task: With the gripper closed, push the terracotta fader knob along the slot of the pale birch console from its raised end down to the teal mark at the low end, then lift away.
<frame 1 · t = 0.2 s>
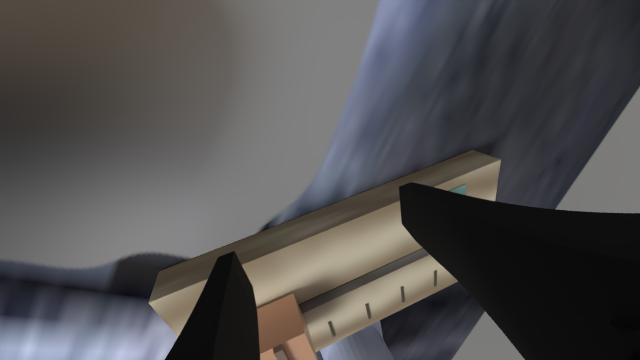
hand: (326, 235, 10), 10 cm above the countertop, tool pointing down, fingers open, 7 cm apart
fader console: (348, 258, 25), on the countertop
fader knob: (283, 344, 19), point 5 cm above the countertop, slide at 8.0 cm
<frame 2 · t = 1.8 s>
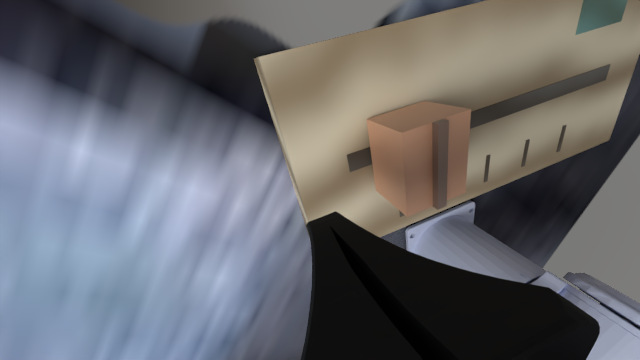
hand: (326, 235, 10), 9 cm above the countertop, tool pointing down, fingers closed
fader console: (459, 106, 21), on the countertop
fader knob: (418, 157, 15), point 5 cm above the countertop, slide at 8.0 cm
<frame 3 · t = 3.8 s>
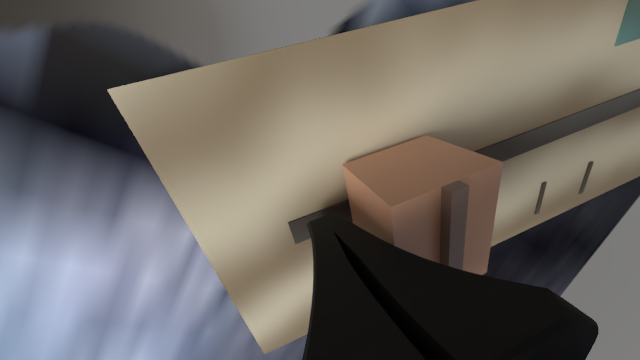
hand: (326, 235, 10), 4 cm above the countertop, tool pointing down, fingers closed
fader console: (454, 137, 16), on the countertop
fader knob: (417, 221, 10), point 5 cm above the countertop, slide at 6.7 cm, touching gripper
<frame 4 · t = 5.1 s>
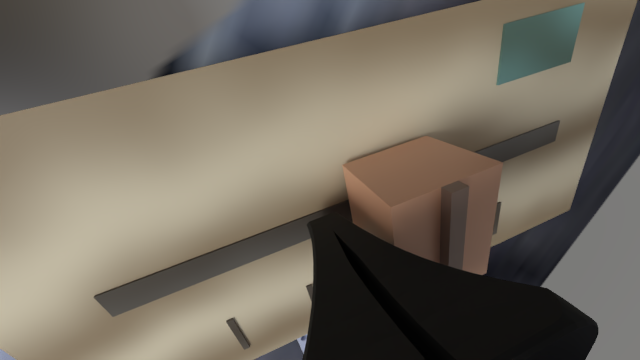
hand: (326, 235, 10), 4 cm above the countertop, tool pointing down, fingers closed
fader console: (345, 177, 14), on the countertop
fader knob: (417, 221, 10), point 5 cm above the countertop, slide at -0.8 cm, touching gripper
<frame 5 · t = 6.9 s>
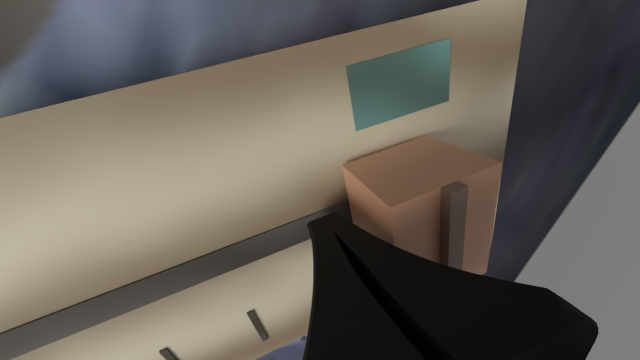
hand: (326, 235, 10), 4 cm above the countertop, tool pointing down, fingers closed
fader console: (223, 222, 13), on the countertop
fader knob: (417, 221, 10), point 5 cm above the countertop, slide at -7.9 cm, touching gripper
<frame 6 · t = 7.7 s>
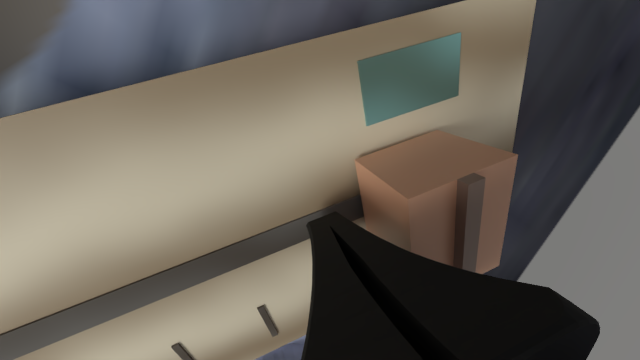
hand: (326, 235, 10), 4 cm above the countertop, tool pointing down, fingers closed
fader console: (232, 218, 13), on the countertop
fader knob: (430, 215, 10), point 5 cm above the countertop, slide at -7.9 cm
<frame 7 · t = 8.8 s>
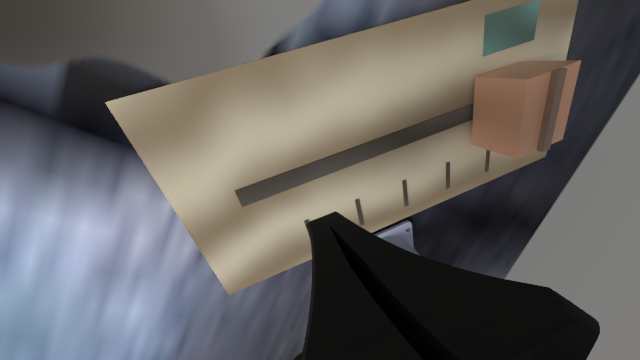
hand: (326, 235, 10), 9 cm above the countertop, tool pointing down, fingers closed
fader console: (377, 129, 20), on the countertop
fader knob: (521, 108, 17), point 5 cm above the countertop, slide at -7.9 cm
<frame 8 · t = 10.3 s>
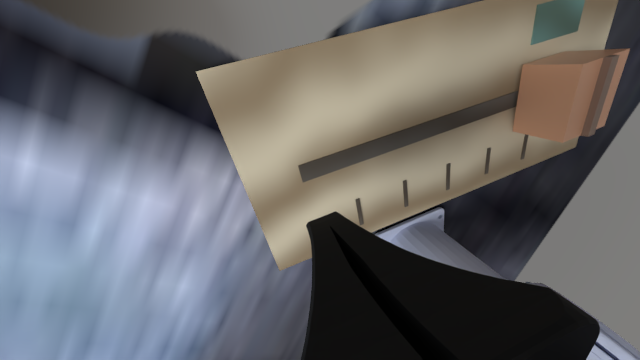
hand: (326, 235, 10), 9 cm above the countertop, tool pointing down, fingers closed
fader console: (421, 115, 21), on the countertop
fader knob: (566, 95, 18), point 5 cm above the countertop, slide at -7.9 cm
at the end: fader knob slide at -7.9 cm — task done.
